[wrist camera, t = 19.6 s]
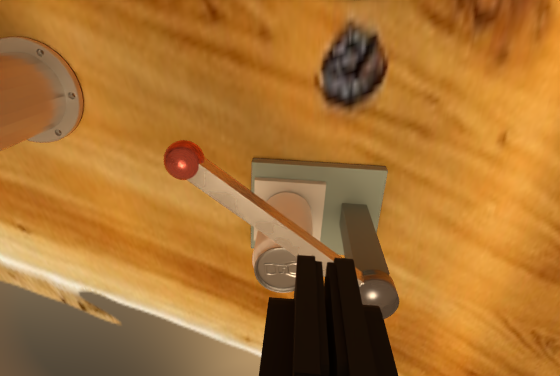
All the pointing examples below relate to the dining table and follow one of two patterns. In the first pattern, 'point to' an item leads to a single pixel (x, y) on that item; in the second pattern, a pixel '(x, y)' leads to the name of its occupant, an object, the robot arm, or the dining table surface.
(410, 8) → the dining table surface
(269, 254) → the can
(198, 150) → the lever
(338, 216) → the press
